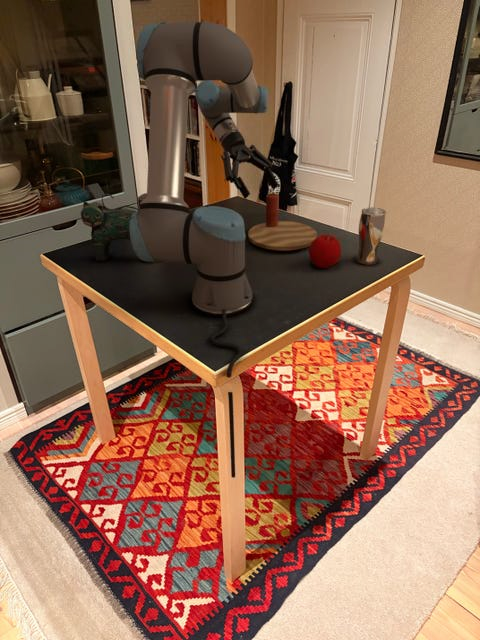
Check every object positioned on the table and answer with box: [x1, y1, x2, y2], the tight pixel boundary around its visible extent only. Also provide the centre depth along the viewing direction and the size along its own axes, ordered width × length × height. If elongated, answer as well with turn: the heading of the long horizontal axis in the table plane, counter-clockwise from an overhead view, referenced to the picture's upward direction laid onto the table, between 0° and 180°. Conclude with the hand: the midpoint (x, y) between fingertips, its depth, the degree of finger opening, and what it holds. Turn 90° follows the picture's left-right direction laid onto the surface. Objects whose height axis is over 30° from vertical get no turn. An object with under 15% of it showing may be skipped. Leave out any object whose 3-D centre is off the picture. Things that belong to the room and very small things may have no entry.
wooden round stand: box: [247, 193, 318, 251], centre depth 147 cm, size 22×22×11 cm
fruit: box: [308, 231, 342, 269], centre depth 132 cm, size 9×9×10 cm
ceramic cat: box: [80, 193, 149, 263], centre depth 135 cm, size 20×6×20 cm, turn 83°
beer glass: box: [355, 206, 387, 266], centre depth 133 cm, size 7×7×15 cm
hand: (262, 191), depth 153 cm, fingers open, 13 cm apart
